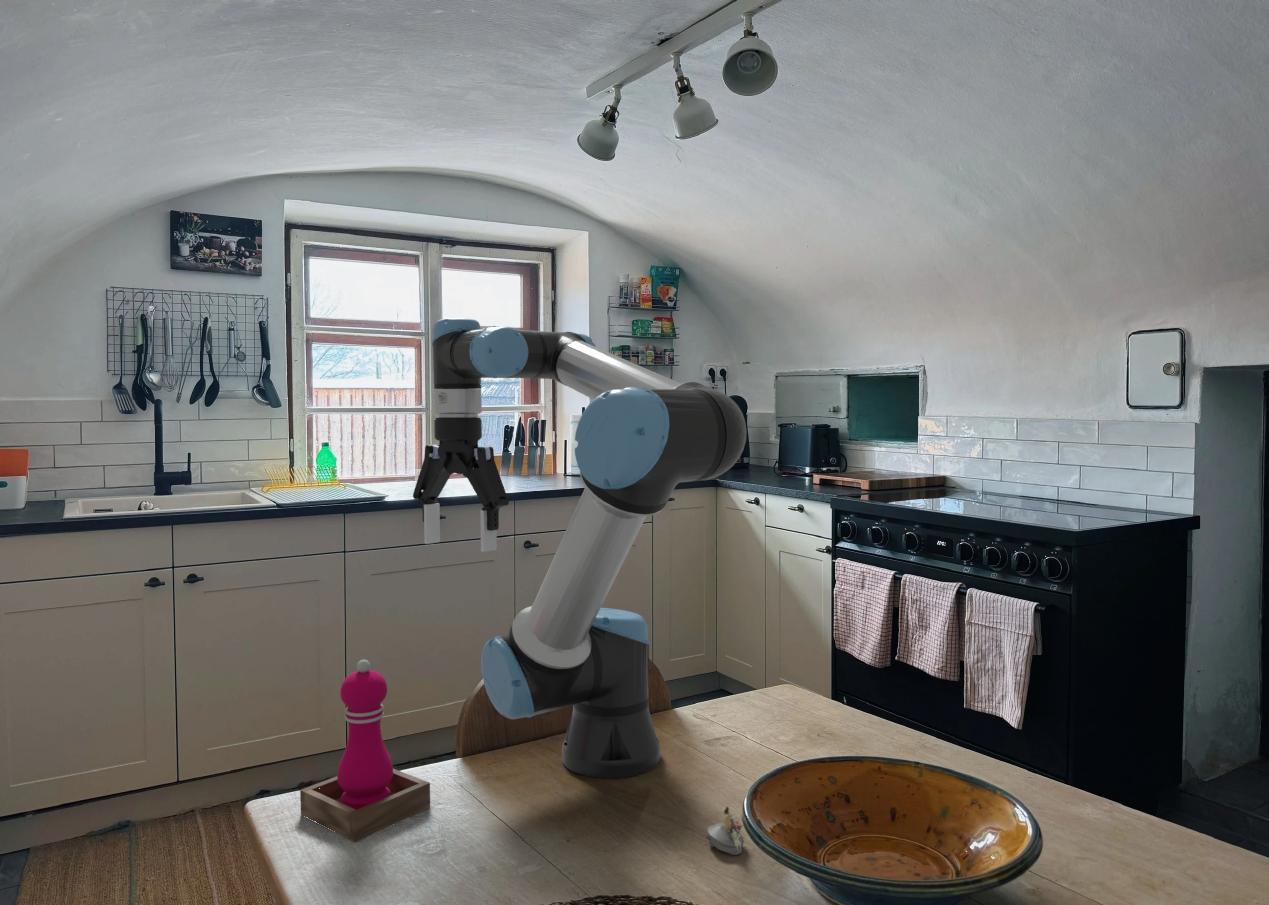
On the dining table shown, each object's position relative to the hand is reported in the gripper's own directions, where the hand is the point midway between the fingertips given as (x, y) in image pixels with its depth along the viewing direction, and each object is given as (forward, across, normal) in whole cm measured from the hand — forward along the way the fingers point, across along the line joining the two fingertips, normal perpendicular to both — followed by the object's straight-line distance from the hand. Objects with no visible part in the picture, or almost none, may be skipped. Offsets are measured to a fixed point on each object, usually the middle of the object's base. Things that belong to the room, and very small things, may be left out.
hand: (459, 546), depth 147 cm
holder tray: (+32, +10, -26) cm, 42 cm away
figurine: (+32, +54, -5) cm, 63 cm away
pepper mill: (+31, +10, -26) cm, 42 cm away
